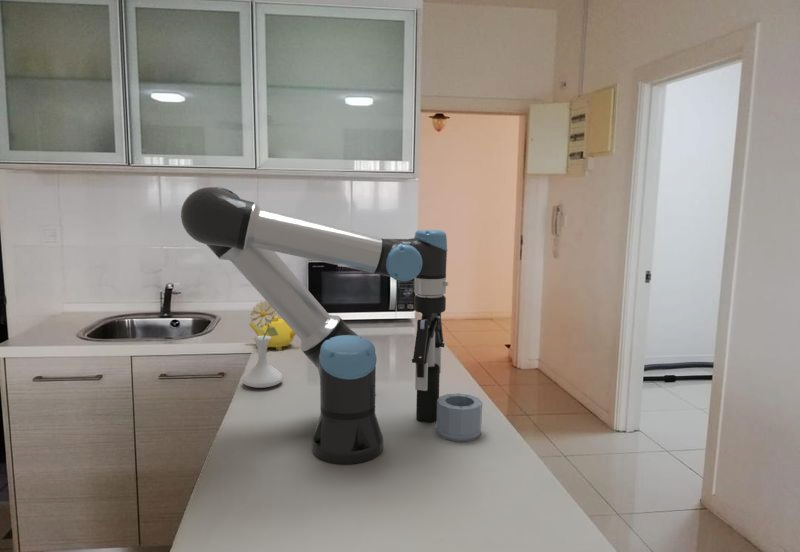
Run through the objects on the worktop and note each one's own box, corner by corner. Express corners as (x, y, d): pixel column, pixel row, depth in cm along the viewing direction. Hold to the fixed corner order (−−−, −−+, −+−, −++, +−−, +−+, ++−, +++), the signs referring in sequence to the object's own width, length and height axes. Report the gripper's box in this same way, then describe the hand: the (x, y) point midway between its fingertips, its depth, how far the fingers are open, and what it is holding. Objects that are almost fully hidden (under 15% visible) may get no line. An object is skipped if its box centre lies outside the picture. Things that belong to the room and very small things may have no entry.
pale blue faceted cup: (476, 444, 124) (477, 411, 123) (432, 437, 127) (433, 406, 126) (483, 426, 133) (484, 396, 132) (442, 421, 136) (443, 391, 135)
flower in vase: (234, 384, 161) (232, 298, 157) (269, 375, 169) (268, 293, 165) (258, 395, 152) (256, 304, 148) (294, 386, 160) (293, 299, 156)
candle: (436, 422, 135) (438, 321, 132) (415, 420, 136) (417, 319, 133) (439, 414, 140) (441, 316, 137) (418, 413, 141) (420, 315, 138)
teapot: (237, 351, 195) (236, 319, 194) (261, 338, 212) (261, 309, 211) (290, 355, 191) (290, 323, 189) (311, 342, 208) (311, 313, 206)
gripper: (432, 305, 121) (431, 399, 124) (456, 288, 145) (454, 367, 148) (399, 303, 123) (398, 396, 126) (427, 286, 147) (426, 365, 150)
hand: (428, 380), depth 137 cm, fingers open, 13 cm apart
